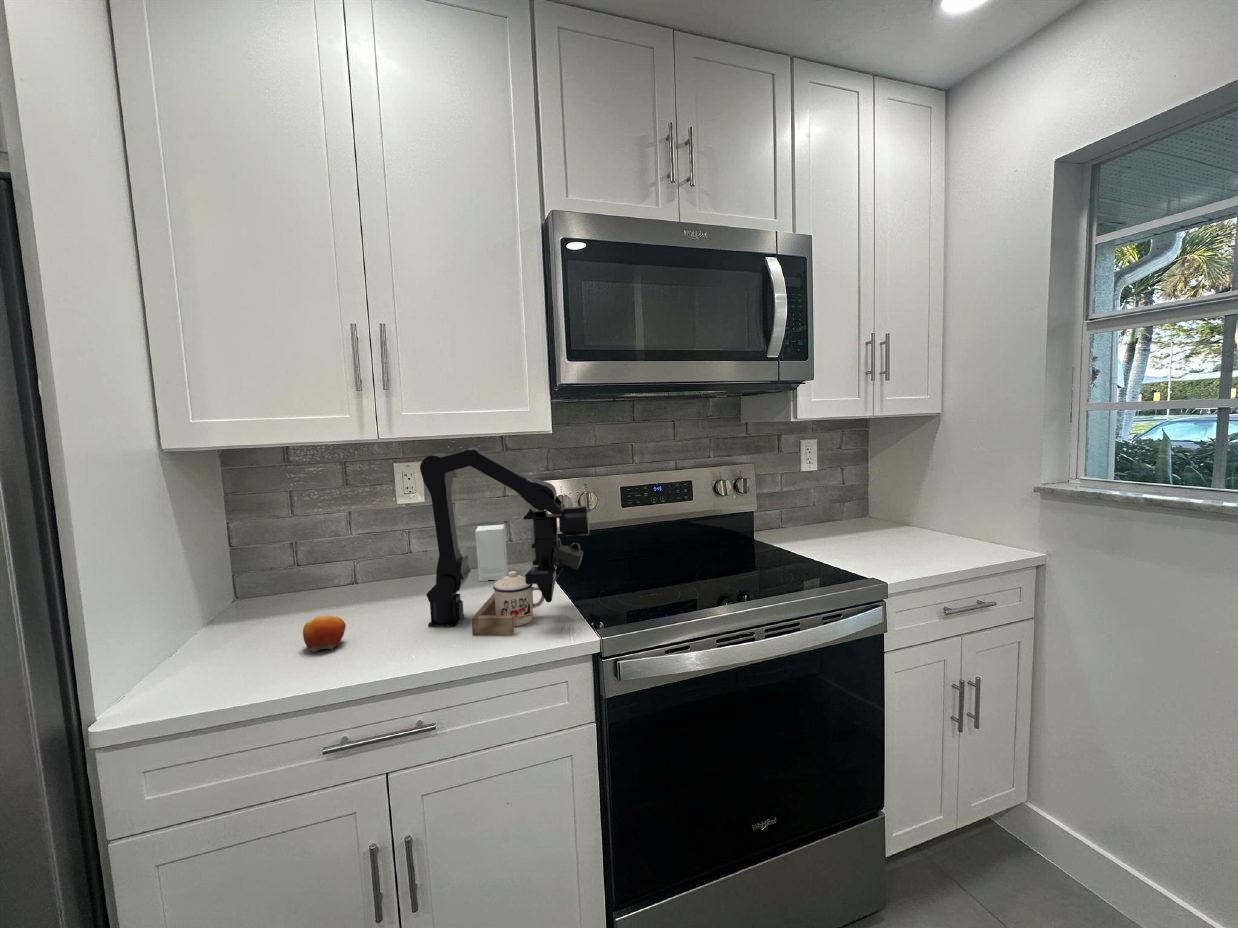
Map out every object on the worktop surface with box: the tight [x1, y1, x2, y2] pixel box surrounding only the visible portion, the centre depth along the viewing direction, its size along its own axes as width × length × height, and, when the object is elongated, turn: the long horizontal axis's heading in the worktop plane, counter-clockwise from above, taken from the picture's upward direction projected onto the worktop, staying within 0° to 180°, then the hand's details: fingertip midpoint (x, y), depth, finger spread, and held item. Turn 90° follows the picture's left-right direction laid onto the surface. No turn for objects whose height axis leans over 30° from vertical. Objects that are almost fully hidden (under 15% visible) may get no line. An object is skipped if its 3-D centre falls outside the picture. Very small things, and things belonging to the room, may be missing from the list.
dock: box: [471, 591, 534, 637], centre depth 129 cm, size 9×20×4 cm, turn 176°
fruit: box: [302, 615, 347, 655], centre depth 115 cm, size 8×8×8 cm
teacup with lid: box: [492, 570, 545, 627], centre depth 128 cm, size 12×9×12 cm
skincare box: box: [474, 524, 509, 582], centre depth 161 cm, size 8×7×16 cm
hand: (549, 601), depth 128 cm, fingers closed
